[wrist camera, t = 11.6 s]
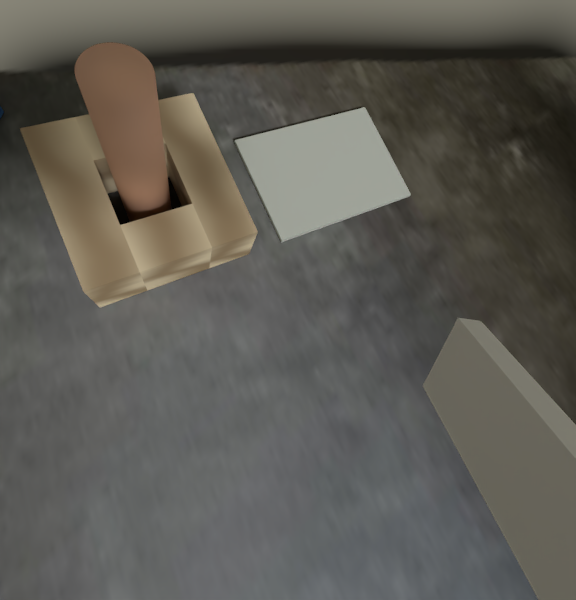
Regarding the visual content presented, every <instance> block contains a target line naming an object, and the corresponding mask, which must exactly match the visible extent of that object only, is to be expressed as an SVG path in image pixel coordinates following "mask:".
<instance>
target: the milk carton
mask: <svg viewBox="0 0 576 600" xmlns="http://www.w3.org/2000/svg"><path fill="white" fill-rule="evenodd" d="M3 113H4V111H3V109H2V108H1V106H0V119H1V117H2V115H3Z"/></svg>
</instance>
